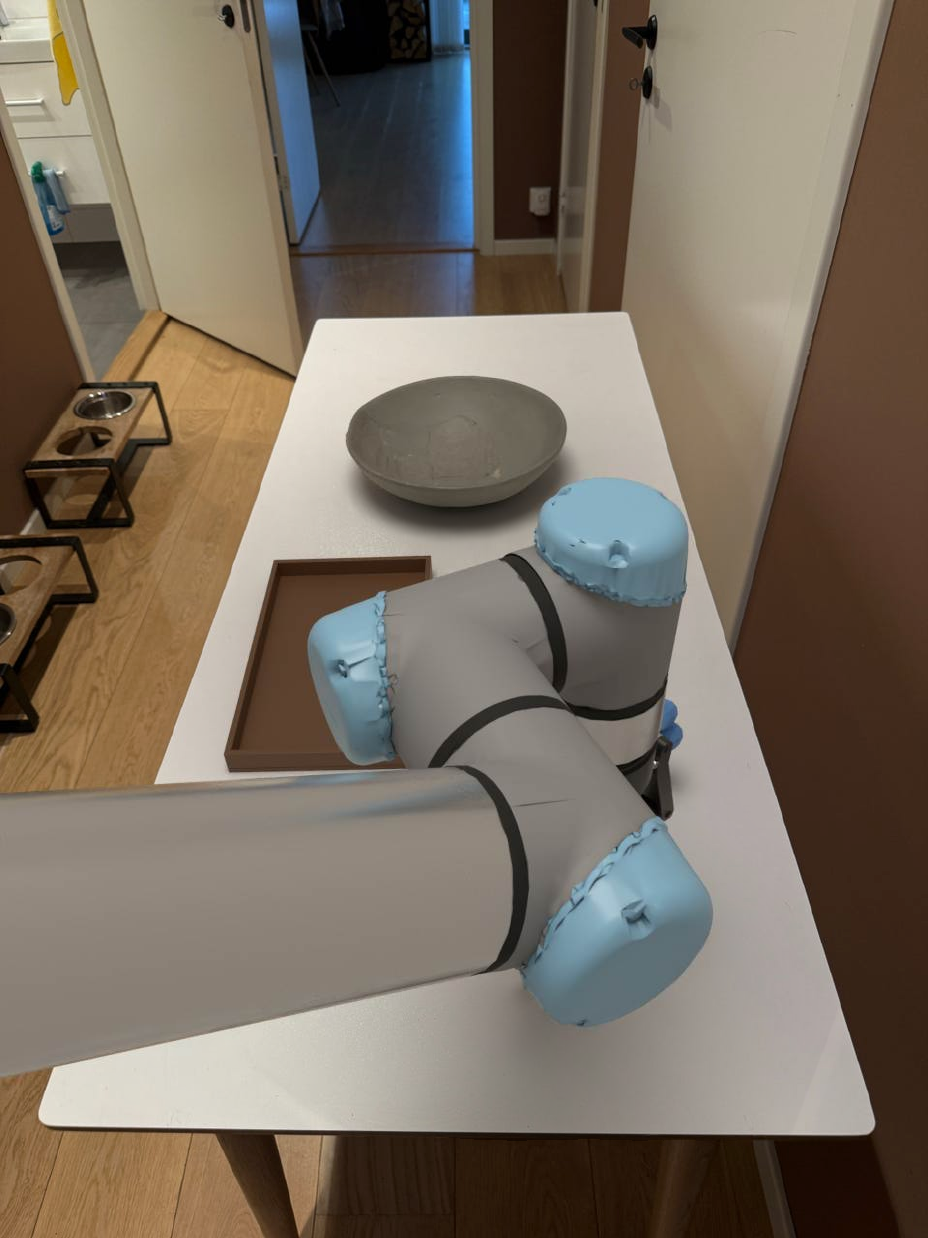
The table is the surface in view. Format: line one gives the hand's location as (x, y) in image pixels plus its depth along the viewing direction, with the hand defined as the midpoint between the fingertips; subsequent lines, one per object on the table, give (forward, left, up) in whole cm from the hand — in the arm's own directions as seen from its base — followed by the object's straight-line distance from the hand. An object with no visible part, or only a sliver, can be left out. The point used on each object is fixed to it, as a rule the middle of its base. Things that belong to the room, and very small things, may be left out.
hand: (574, 926), depth 69 cm
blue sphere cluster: (+15, +10, -4) cm, 18 cm away
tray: (+5, +39, -3) cm, 39 cm away
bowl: (+36, +57, -4) cm, 68 cm away
